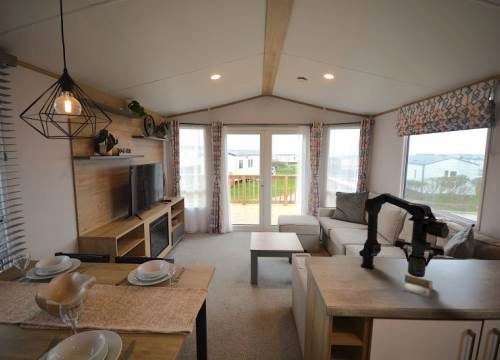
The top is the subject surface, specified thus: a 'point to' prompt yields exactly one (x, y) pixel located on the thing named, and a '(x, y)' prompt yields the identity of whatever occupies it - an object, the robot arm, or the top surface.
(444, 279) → the top surface
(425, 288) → the corner arena
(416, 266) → the supplement bottle
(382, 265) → the top surface
